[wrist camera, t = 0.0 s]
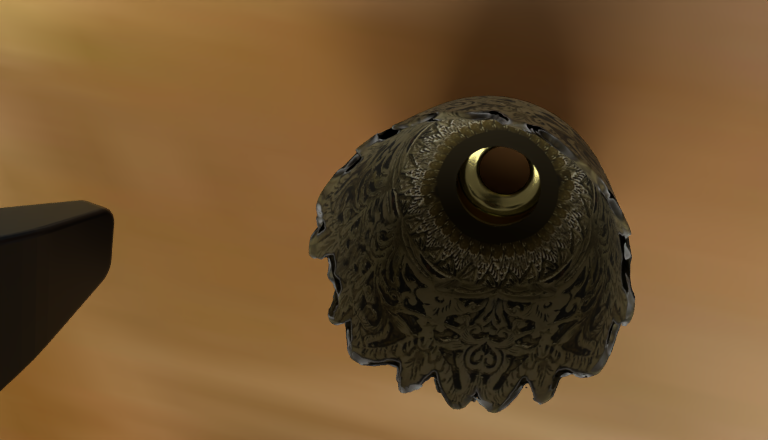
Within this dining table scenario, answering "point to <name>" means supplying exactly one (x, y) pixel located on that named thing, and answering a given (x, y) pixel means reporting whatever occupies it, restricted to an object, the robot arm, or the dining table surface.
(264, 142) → the dining table surface
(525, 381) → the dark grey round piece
